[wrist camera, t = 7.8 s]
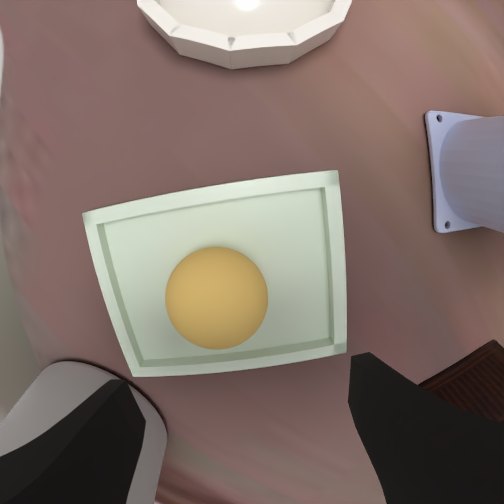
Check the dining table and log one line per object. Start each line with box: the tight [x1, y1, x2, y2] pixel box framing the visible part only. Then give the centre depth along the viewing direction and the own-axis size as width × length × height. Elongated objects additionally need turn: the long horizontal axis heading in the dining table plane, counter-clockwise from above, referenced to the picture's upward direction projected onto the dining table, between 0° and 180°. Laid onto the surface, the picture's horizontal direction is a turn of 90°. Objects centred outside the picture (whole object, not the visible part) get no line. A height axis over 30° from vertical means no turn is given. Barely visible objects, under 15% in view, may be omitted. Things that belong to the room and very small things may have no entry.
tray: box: [82, 170, 347, 377], centre depth 17 cm, size 14×11×2 cm
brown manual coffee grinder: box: [418, 340, 504, 423], centre depth 14 cm, size 16×11×18 cm
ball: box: [165, 247, 268, 350], centre depth 14 cm, size 5×5×5 cm
